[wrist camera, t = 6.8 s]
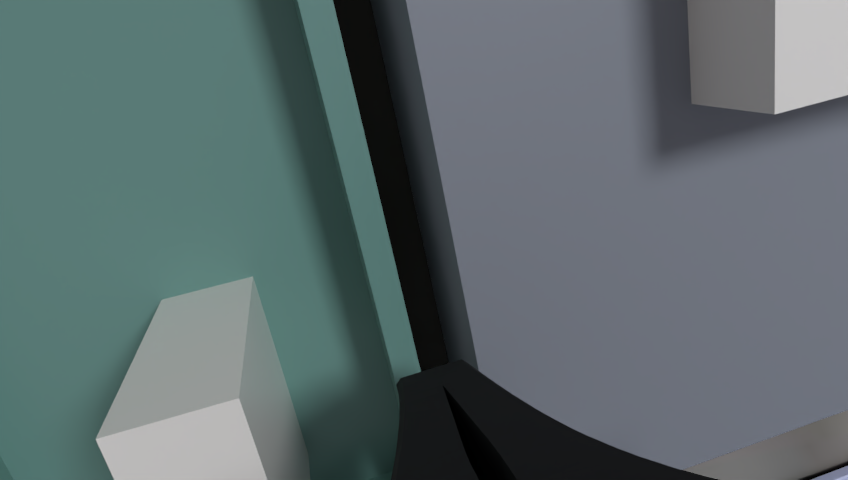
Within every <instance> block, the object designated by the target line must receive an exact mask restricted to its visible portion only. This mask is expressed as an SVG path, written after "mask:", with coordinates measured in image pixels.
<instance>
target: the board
mask: <svg viewBox="0 0 848 480" xmlns="http://www.w3.org/2000/svg"><path fill="white" fill-rule="evenodd" d="M370 1H371V6H372V10H373V15H374V19H375V24H376V29H377V33H378V38H379V43H380V47H381V52H382V56H383V61H384V66H385V70H386V75H387V80H388V84H389V89H390V93H391V98H392V103H393V107H394V112H395V116H396V121H397V126H398V130H399V135H400V140H401V144H402V149H403V153H404V158H405V163H406V167H407V172H408V176H409V181H410V186H411V190H412V195H413V200H414V204H415V209H416V213H417V218H418V223H419V227H420V232H421V237H422V241H423V246H424V250H425V255H426V260H427V264H428V269H429V273H430V278H431V283H432V287H433V292H434V297H435V301H436V306H437V310H438V315H439V320H440V324H441V329H442V334H443V338H444V343H445V347H446V352H447V357H448V361H449V363H451V362H454V361H457V360H461V359H462V360H464V361H465V362H467V363H469V364H470V365H471V366H473V367H474V368H476V369H477V370H478V371H480V372H481V373H482V374H484V375H485V376H487V377H488V378H489V379H491V380H492V381H494V382H495V383H497V384H498V385H500V386H501V387H502V388H504V389H505V390H507V391H508V392H510V393H511V394H513V395H515V396H516V397H518V398H519V399H521V400H523V401H524V402H526V403H528V404H529V405H531V406H532V407H534V408H536V409H537V410H539V411H541V412H543V413H544V414H546V415H548V416H550V417H551V418H553V419H555V420H557V421H559V422H561V423H563V424H564V425H566V426H568V427H570V428H572V429H574V430H576V431H578V432H581V433H583V434H585V435H587V436H589V437H592V438H594V439H597V440H599V441H601V442H604V443H606V444H608V445H611V446H613V447H616V448H618V449H620V450H623V451H626V452H629V453H631V454H634V455H637V456H639V457H642V458H646V459H649V460H652V461H655V462H658V463H661V464H664V465H667V466H670V467H673V468H676V469H680V470H683V469H686V468H688V467H691V466H694V465H697V464H700V463H702V462H705V461H708V460H711V459H713V458H716V457H719V456H722V455H724V454H727V453H730V452H733V451H735V450H738V449H741V448H744V447H747V446H749V445H752V444H755V443H758V442H760V441H763V440H766V439H769V438H771V437H774V436H777V435H780V434H782V433H785V432H788V431H791V430H794V429H796V428H799V427H802V426H805V425H807V424H810V423H813V422H816V421H818V420H821V419H824V418H827V417H829V416H832V415H835V414H838V413H841V412H843V411H846V410H848V95H846V96H842V97H839V98H835V99H831V100H827V101H824V102H820V103H816V104H812V105H808V106H805V107H801V108H797V109H793V110H790V111H786V112H782V113H778V114H767V113H759V112H751V111H743V110H735V109H727V108H720V107H712V106H704V105H696V104H692V102H691V79H690V55H689V31H688V7H687V0H370Z"/></svg>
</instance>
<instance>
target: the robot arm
mask: <svg viewBox="0 0 848 480" xmlns="http://www.w3.org/2000/svg"><path fill="white" fill-rule="evenodd" d="M396 387H397V390H398V394H399V429H398V439H397V448H396V455H395V460H394V466H393V471H392V476H391V480H718V479H713V478H709V477H705V476H702V475H698V474H694V473H691V472H687V471H683V470H680V469H676V468H673V467H670V466H667V465H664V464H661V463H658V462H655V461H652V460H649V459H646V458H642V457H639V456H637V455H634V454H631V453H629V452H626V451H623V450H620V449H618V448H616V447H613V446H611V445H608V444H606V443H604V442H601V441H599V440H597V439H594V438H592V437H589V436H587V435H585V434H583V433H581V432H578V431H576V430H574V429H572V428H570V427H568V426H566V425H564V424H563V423H561V422H559V421H557V420H555V419H553V418H551V417H550V416H548V415H546V414H544V413H543V412H541V411H539V410H537V409H536V408H534V407H532V406H531V405H529V404H528V403H526V402H524V401H523V400H521V399H519V398H518V397H516V396H515V395H513V394H511V393H510V392H508V391H507V390H505V389H504V388H502V387H501V386H500V385H498V384H497V383H495V382H494V381H492V380H491V379H489V378H488V377H487V376H485V375H484V374H482V373H481V372H480V371H478V370H477V369H476V368H474V367H473V366H471V365H470V364H469V363H467V362H465V361H464V360H462V359H461V360H457V361H454V362H451V363H448V364H444V365H441V366H438V367H435V368H432V369H428V370H425V371H422V372H419V373H415V374H412V375H409V376H406V377H403V378H400V380H399V381H398V383H397V384H396ZM811 480H848V466H845V467H842V468H840V469H837V470H835V471H832V472H829V473H827V474H824V475H821V476H819V477H816V478H813V479H811Z"/></svg>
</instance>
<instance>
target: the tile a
mask: <svg viewBox="0 0 848 480" xmlns="http://www.w3.org/2000/svg"><path fill="white" fill-rule="evenodd" d="M96 441H97V444H98V446H99V448H100V450H101V452H102V454H103V457H104V459H105V461H106V463H107V465H108V467H109V470H110V472H111V474H112V476H113V478H114V480H310V468H309V455H308V451H307V448H306V445H305V442H304V438H303V435H302V432H301V429H300V426H299V422H298V419H297V416H296V413H295V410H294V406H293V403H292V400H291V397H290V393H289V390H288V387H287V384H286V381H285V377H284V374H283V371H282V368H281V365H280V361H279V358H278V355H277V352H276V349H275V345H274V342H273V339H272V336H271V332H270V329H269V326H268V323H267V320H266V316H265V313H264V310H263V307H262V304H261V300H260V297H259V294H258V291H257V288H256V284H255V281H254V278H253V276H252V277H249V278H245V279H241V280H237V281H233V282H229V283H225V284H221V285H217V286H213V287H209V288H206V289H202V290H198V291H194V292H190V293H186V294H182V295H178V296H174V297H170V298H166V299H163V300H161V302H160V304H159V306H158V308H157V310H156V312H155V315H154V317H153V319H152V321H151V323H150V325H149V327H148V329H147V331H146V334H145V336H144V338H143V340H142V342H141V344H140V346H139V348H138V350H137V353H136V355H135V357H134V359H133V361H132V363H131V365H130V367H129V370H128V372H127V374H126V376H125V378H124V380H123V382H122V384H121V386H120V389H119V391H118V393H117V395H116V397H115V399H114V401H113V403H112V405H111V408H110V410H109V412H108V414H107V416H106V418H105V420H104V422H103V425H102V427H101V429H100V431H99V433H98V435H97V437H96Z"/></svg>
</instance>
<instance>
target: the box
mask: <svg viewBox="0 0 848 480" xmlns="http://www.w3.org/2000/svg"><path fill="white" fill-rule="evenodd" d="M252 276H253V278H254V281H255V284H256V288H257V291H258V294H259V297H260V300H261V304H262V307H263V310H264V313H265V316H266V320H267V323H268V326H269V329H270V332H271V336H272V339H273V342H274V345H275V349H276V352H277V355H278V358H279V361H280V365H281V368H282V371H283V374H284V377H285V381H286V384H287V387H288V390H289V393H290V397H291V400H292V403H293V406H294V410H295V413H296V416H297V419H298V422H299V426H300V429H301V432H302V435H303V438H304V442H305V445H306V448H307V451H308V455H309V468H310V480H391V476H392V471H393V466H394V460H395V455H396V448H397V439H398V429H399V394H398V390H397V387H396V384H397V383H398V381H399V380H400V378H403V377H406V376H409V375H412V374H415V373H419V372H421V370H420V365H419V361H418V357H417V353H416V348H415V344H414V340H413V336H412V332H411V327H410V323H409V319H408V315H407V310H406V306H405V302H404V298H403V294H402V289H401V285H400V281H399V277H398V273H397V268H396V264H395V260H394V256H393V251H392V247H391V243H390V239H389V235H388V230H387V226H386V222H385V218H384V213H383V209H382V205H381V201H380V197H379V192H378V188H377V184H376V180H375V176H374V171H373V167H372V163H371V159H370V154H369V150H368V146H367V142H366V138H365V133H364V129H363V125H362V121H361V117H360V112H359V108H358V104H357V100H356V95H355V91H354V87H353V83H352V79H351V74H350V70H349V66H348V62H347V57H346V53H345V49H344V45H343V41H342V36H341V32H340V28H339V24H338V20H337V15H336V11H335V7H334V3H333V0H0V480H114V478H113V476H112V474H111V472H110V470H109V467H108V465H107V463H106V461H105V459H104V457H103V454H102V452H101V450H100V448H99V446H98V444H97V441H96V437H97V435H98V433H99V431H100V429H101V427H102V425H103V422H104V420H105V418H106V416H107V414H108V412H109V410H110V408H111V405H112V403H113V401H114V399H115V397H116V395H117V393H118V391H119V389H120V386H121V384H122V382H123V380H124V378H125V376H126V374H127V372H128V370H129V367H130V365H131V363H132V361H133V359H134V357H135V355H136V353H137V350H138V348H139V346H140V344H141V342H142V340H143V338H144V336H145V334H146V331H147V329H148V327H149V325H150V323H151V321H152V319H153V317H154V315H155V312H156V310H157V308H158V306H159V304H160V302H161V300H163V299H166V298H170V297H174V296H178V295H182V294H186V293H190V292H194V291H198V290H202V289H206V288H209V287H213V286H217V285H221V284H225V283H229V282H233V281H237V280H241V279H245V278H249V277H252Z"/></svg>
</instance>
